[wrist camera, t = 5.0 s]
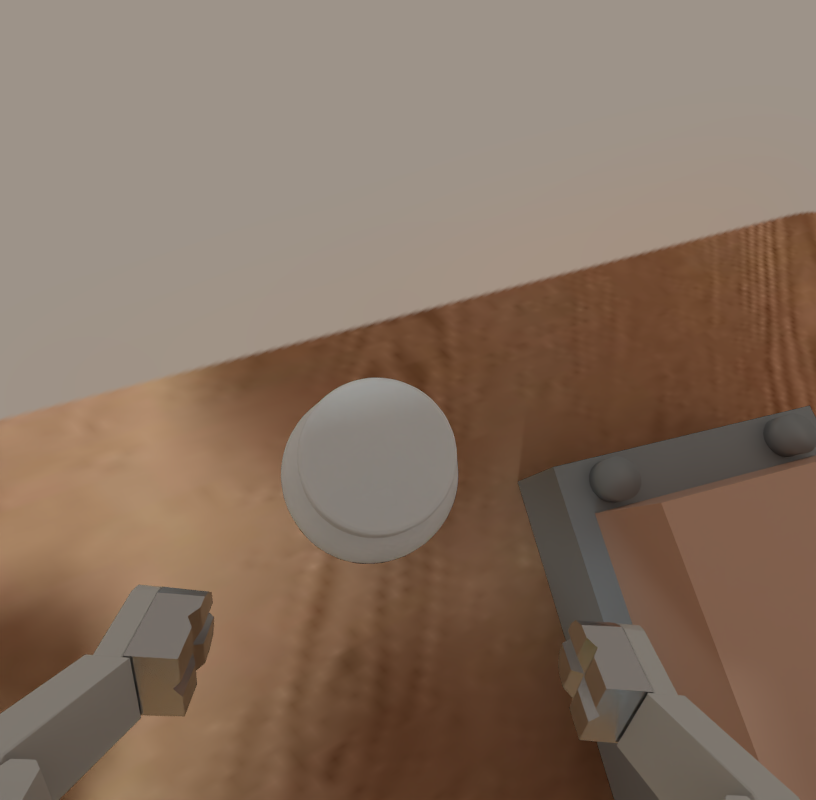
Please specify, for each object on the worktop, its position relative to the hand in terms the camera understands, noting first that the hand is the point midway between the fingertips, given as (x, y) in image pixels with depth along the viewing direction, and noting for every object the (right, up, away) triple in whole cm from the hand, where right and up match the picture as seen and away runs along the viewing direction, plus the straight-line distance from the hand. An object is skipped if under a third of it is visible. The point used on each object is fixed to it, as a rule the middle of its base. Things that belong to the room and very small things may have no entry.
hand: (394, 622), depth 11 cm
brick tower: (+13, -4, +10) cm, 17 cm away
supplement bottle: (-2, +1, +10) cm, 11 cm away
